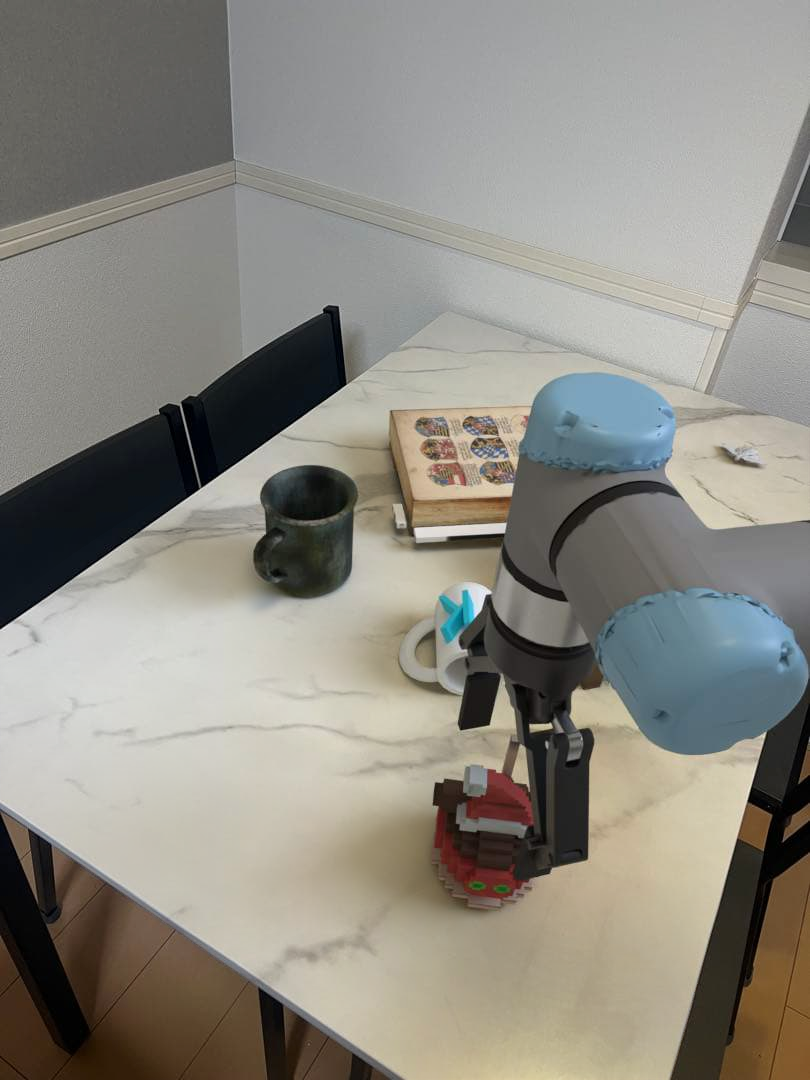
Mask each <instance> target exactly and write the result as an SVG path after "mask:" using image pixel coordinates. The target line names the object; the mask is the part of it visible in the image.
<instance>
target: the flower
mask: <svg viewBox="0 0 810 1080" xmlns="http://www.w3.org/2000/svg"><path fill="white" fill-rule="evenodd" d="M721 445H722V446H724V448H725V449H726V450H727V451H729V452H730V453H731V454H732V455H735V457H734V462H737V461H743V460H744V461H746V462H751V463H755V464H761V465H764V466H769V465H768V464H767V463H766V462H765V461H762V460H759V459H760V457H759V455H758V453H759V451H758V450H757V449H756V448H758V446H757V445H754V446H753V447H751V446H748V447H747V444H745V445H743V446H738V447H736V448H734V447H732V445H729V444H726V443H723V442H721ZM742 459H743V460H742Z"/></svg>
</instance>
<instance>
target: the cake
mask: <svg viewBox="0 0 810 1080" xmlns="http://www.w3.org/2000/svg"><path fill="white" fill-rule="evenodd" d="M520 746H521V744H520V743H519V742H518V739H517V733H511V734H510V737H509V742H508V746H507V750H506V752H505V753H506V754H505V758H504V762H503V765H502V769H501V772H497V769H492V768H485V767H484V765H483V764H482V765H481V764H475V763H470V764H469V765H465V768H464V772H463V780H460V779H453V778H444V777H443V782H437V781H435V782H434V786H433V795H432V806H433V807H437V811H436V812H437V813H436V817H435V828H434V829H435V830H433V835H432V846H431V847H432V848H431V857H430V858H431V860H430V864H432V865H438V868H437V869H438V870H437V880H440V881H445V882H444V888H445V889H451V890H452V893H451V894H452V895H451V896H452V897H454V898H459V899H461V898H462V899H466V900H467V907H469V908H476V909H477V908H478V909H485V910H490V911H491V910H492V911H500V910H501V906H502V905H501V904H505V905H506V904H507V905H513V906H515V905H516V904H517V898H519V899H523V898H524V896H525V892H531V891H532V889H533V878H530V879H526V880H522V881H517V882H516V881H515V878H514V875H513V873H512V872H513V869H514V866H515V863H516V860H517V857H518V853H519V850H520V847H521V844H522V841H523V838H524V835H525V832H526V829H527V827H528V826H532V825H534V824H533V815H532V805H531V796H530V787H529V786H528V784H527V783H522V782H521V783H520V782H515V780H514V777H512V776H513V773H514V772H513V771H514V768H515V764H516V760H517V757H518V753H519V749H520Z"/></svg>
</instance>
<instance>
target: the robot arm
mask: <svg viewBox="0 0 810 1080" xmlns="http://www.w3.org/2000/svg"><path fill="white" fill-rule="evenodd" d="M532 401H533V402H532V404H531V406H532V408H531V412H530V416H529V419H528V423H527V427H526V431H525V435H524V438H523V439H522V440H521V441H520V443H519V447H518V449H519V450H518V452H519V458H518V464H517V469H516V475H515V480H514V486H513V491H512V497H511V502H510V508H509V513H508V519H507V522H506V523H507V524H506V530H505V536H504V538H503V540H502V543H501V547H500V549H499V554H498V559H497V564H496V568H495V575H494V579H493V586H492V589H491V592H492V594H487V595H486V596H485V599H484V603H483V607H482V610H481V611H480V613H479V614H478V615H477V616H476V617H475V618H474V620H473V621H472V622H471V623H470V624H469V625H468V627H467V628H466V629H465V630H464V631H463V633H462V634H461V635H460V636H459V646H460V648H461V649H462V650H466V649H467V652H468V656H469V657H465V663H464V664H465V667H466V670H467V671H468V674H467V676H466V681H465V686H464V692H463V696H462V697H461V703H460V709H459V714H458V718H457V726H458V729H459V731H460V732H461V731H465V730H466V731H467V730H473V729H478V728H483V727H484V728H485V727H490V726H491V721H492V717H493V713H494V709H495V703H496V701H497V695H498V691H499V688H500V686H499V683H500V679H501V677H500V674H499V673H502V674H503V677H504V688H505V690H506V692H507V695H508V696H509V703H510V706H511V707H512V709H513V710H514V711H513V712H514V719H515V729H516V730H515V731H516V734H517V739H518V742H519V743H520V746H523V747H524V749H525V756H526V767H527V777H528V785H529V786H528V787H529V791H530V796H531V805H532V815H533V824H534V825H532V826H528V827H527V829H526V832H525V835H524V838H523V841H522V844H521V847H520V850H519V853H518V857H517V860H516V863H515V866H514V869H513V872H512V873H513V875H514V878H515V881H516V882H517V881H522V880H526V879H530V878H532V879H534V878H539V877H543V876H547V875H551V872H552V869H555V868H559V867H565V866H568V865H573V864H577V863H582V862H586V861H588V860H589V840H590V839H589V829H590V820H589V819H590V763H591V758H592V755H593V752H594V746H595V735H594V733H593V731H592V729H591V728H590V727H584V728H578V729H577V726H576V725H575V723H574V721H573V719H572V718H571V713H572V708H573V707H572V696H573V692H574V691H575V690H576V689H577V688H578V687H579V686H580V685H581V683H582V682H583V681H584V680H585V679H586V678H587V677H588V676H589V675H590V674H591V673H592V671H593V670H594V668H595V665H596V663H597V661H598V666H599V669H600V671H601V673H602V674H603V676H604V677H603V678H604V679H605V682H607V683H609V685H610V686H611V688H612V689H613V690H614V691H615V692H616V694H617V696H618V697H619V699H620V701H621V702H622V704H623V705H624V707H625V708H626V710H627V712H628V714H629V715H630V716H631V718H632V720H633V722H634V723H635V724H636V726H637V728H638V730H639V731H640V732H641V734H642V735H643V736H644V737H645V738H646V739H647V740H648V741H649V742H651V743H652V744H654V746H656V747H658V748H660V749H661V750H664V751H667V752H670V753H673V754H678V755H682V756H683V755H684V756H704V755H713V754H716V753H721V752H725V751H728V750H730V749H732V747H733V746H734V745H736V744H737V743H739V742H741V741H743V740H755V739H756V738H758V737H760V736H762V735H764V734H766V733H767V732H768V731H770V730H771V729H773V728H774V727H775V726H777V725H778V724H779V723H780V722H781V721H783V720H784V719H785V718H786V717H787V716H788V715H789V714H790V713H791V712H792V711H793V709H795V707H796V706H797V705H798V704H799V702H800V700H801V699H802V697H803V696H804V693H805V691H806V688H807V686H808V683H809V680H810V519H806V520H805V519H804V520H795V521H789V522H787V521H786V522H777V523H766V524H757V525H755V524H754V525H747V526H736V527H735V526H734V527H728V528H719V529H717V528H716V529H714V528H710V527H708V526H707V525H706V524H705V523H704V521H702V520H701V518H700V517H699V516H698V515H697V513H696V512H695V510H693V508H692V507H691V506H690V505H689V504H688V503H689V502H687V501H686V500H685V499H684V497H683V496H682V494H681V493H680V492H679V490H678V489H677V488H676V486H675V485H674V484H673V482H672V481H671V480H670V479H669V478H668V477H667V474H666V466H667V463H669V461H670V459H671V458H672V457H673V455H672V454H673V452H674V448H673V444H674V440H675V435H676V429H677V420H676V417H675V411H674V409H673V406H672V405H671V404H670V402H668V400H667V399H666V398H665V397H664V396H663V395H662V394H660V393H659V392H658V391H657V390H655V389H653V388H652V387H650V386H648V385H646V384H645V383H643V382H640V381H638V380H635V379H633V378H630V377H627V376H624V375H620V374H619V375H618V374H616V373H615V374H614V373H608V372H601V371H592V372H573V373H568V374H565V375H561V376H559V377H556V378H554V379H552V380H551V381H548V382H547V383H546V384H545V385H544V386H542V387H541V388H540V390H539V391H538V392H537V393H536V394H535V396H534V398H533V400H532ZM549 724H551V726H552V727H551V728H548V729H543V730H537V731H532V732H531V728H530V725H532V726H533V725H549Z"/></svg>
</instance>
